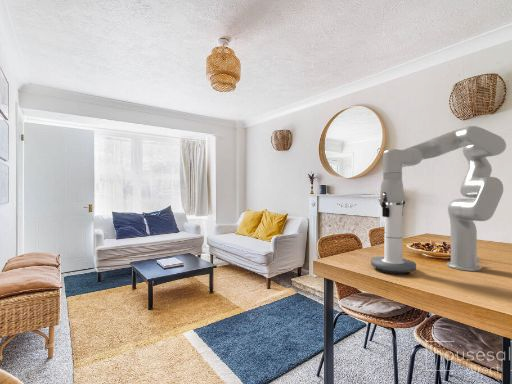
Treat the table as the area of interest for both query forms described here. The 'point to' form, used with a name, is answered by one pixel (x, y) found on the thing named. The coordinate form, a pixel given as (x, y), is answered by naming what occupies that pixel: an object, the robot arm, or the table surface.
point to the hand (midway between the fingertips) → (392, 216)
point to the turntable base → (392, 271)
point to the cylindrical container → (393, 234)
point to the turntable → (393, 265)
